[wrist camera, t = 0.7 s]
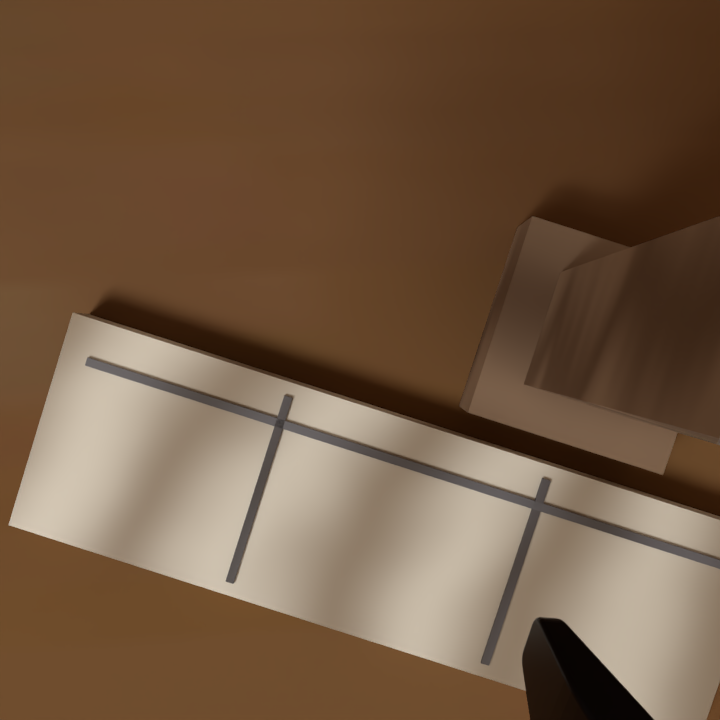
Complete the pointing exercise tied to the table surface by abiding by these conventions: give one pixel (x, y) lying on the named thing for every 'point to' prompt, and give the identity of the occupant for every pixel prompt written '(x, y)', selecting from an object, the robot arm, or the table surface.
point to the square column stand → (604, 342)
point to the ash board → (367, 518)
